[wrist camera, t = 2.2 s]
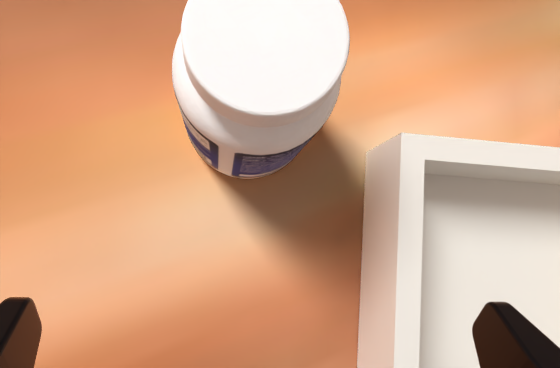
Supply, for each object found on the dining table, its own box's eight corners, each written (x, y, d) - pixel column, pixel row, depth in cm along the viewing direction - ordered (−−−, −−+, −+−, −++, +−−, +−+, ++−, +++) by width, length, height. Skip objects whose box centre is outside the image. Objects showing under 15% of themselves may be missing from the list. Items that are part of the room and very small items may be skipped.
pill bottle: (318, 85, 23) (393, -23, 13) (285, 195, 22) (338, 166, 12) (207, 47, 23) (199, -96, 13) (169, 158, 22) (129, 97, 12)
